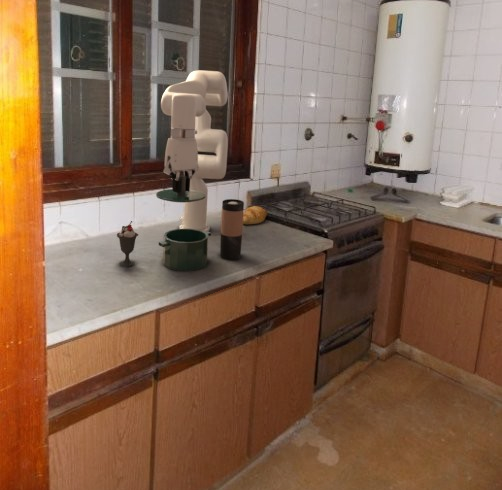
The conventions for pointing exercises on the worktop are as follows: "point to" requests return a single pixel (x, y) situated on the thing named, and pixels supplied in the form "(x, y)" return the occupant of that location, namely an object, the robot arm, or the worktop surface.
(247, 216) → the bread loaf
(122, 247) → the sundae
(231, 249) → the travel mug
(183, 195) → the lid
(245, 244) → the worktop surface
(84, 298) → the worktop surface
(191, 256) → the pot
